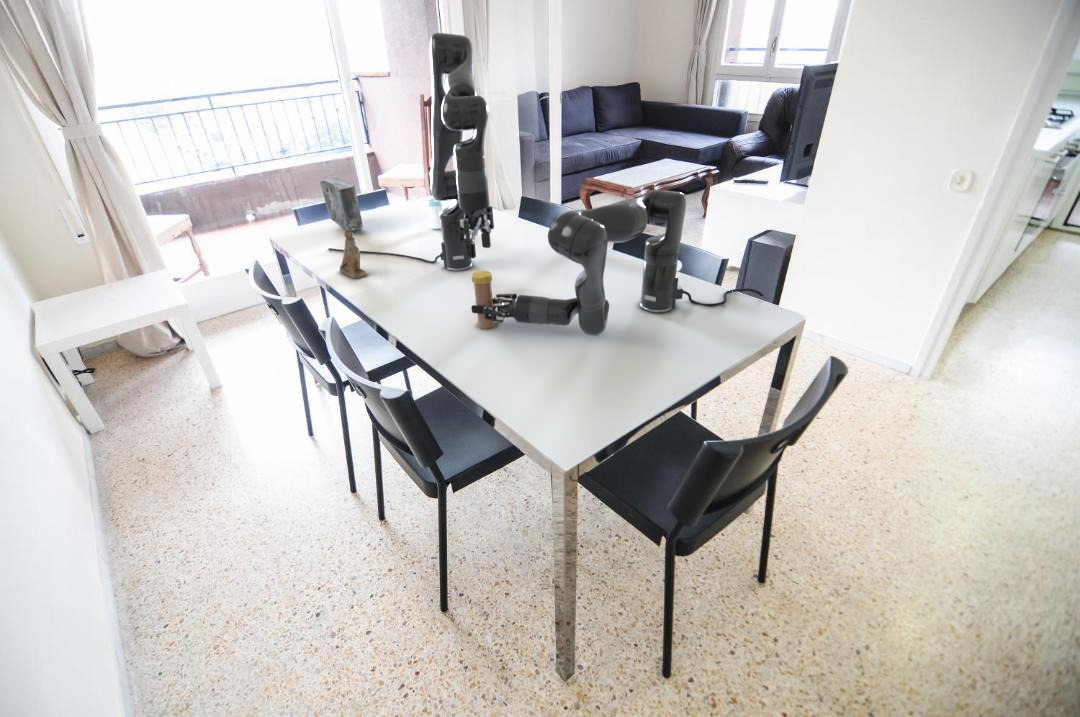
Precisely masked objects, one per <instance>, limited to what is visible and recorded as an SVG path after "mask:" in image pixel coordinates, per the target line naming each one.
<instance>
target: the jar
mask: <svg viewBox="0 0 1080 717" xmlns="http://www.w3.org/2000/svg"><path fill="white" fill-rule="evenodd" d="M473 290H474V297H475V298H474V299H475V305H481V306H492V305H493V297H494V296H493V287H492V281H491V282H490V283H487V284H475V283H473ZM489 310H493V309H489ZM476 315H477V326H478V327H479V328H480V329H483V330H488V329H492V328H494V327H495V325H496V321H492V320H487V319H485V318H484V314H477V313H476Z"/></svg>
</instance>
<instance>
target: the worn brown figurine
mask: <svg viewBox="0 0 1080 717" xmlns="http://www.w3.org/2000/svg"><path fill="white" fill-rule="evenodd" d="M343 236H344V238H346V239H345V240H344V249H343V250H344V252H342V254H343V255H342V261H341V264H340V266H339V273H341V274H343V275H344V276H347V277H350V278H352V279H356V280H357V279H360V278H362V277H366V276H367V273H366V271H365V270H363V269H362V268H361V253H360V251H361V250H360V249H359V247H358V246H357V244H356V243H357V242H356V239H355V237H354V234H353V230H352V231H350V230H348V231H347V230H345V232H344V234H343Z"/></svg>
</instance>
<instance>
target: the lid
mask: <svg viewBox="0 0 1080 717" xmlns="http://www.w3.org/2000/svg"><path fill="white" fill-rule="evenodd" d="M492 281H493V276H492V271H489V270H477V271H474V272H472V274H471V282H472V283H473V284H474V283H475V284H487V283H490V282H491V283H492Z"/></svg>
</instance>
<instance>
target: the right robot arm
mask: <svg viewBox="0 0 1080 717" xmlns="http://www.w3.org/2000/svg"><path fill="white" fill-rule="evenodd" d="M686 212H687V197H686V195H685V194H684V193H682V192H680V191H672V190H663V189H652V190H649V191H647V192H646V193H644V194H642V195H639V196H638V197H634V198H629V199H624V200H619V201H615V202H614V203H611V204H607V205H603V206H598V207H593V208H588V209H575V210H574V209H573V210H567V211H565V212H563V213H561V214H560V215H558V216H557V217H556V218H555V219H554V220H553V222H552V223H551V225H550V226H549V228H548V232H547V242H548V244H549V246H550V248H551V249H552V250H553V251H554V252H555V253H556V254H558V255H560V256H562V257H565V259H568V260H570V261H572V262H573V263H575V264H579V265H581V266H582V267H583V270H582V271H581V272H580V273H579V274H578V276H577V277H576V279H575V282H574V291H575V292H574V293H575V297H573V298H567V299H563V298H554V297H553V298H551V297H548V296H547V297H546V296H539V295H528V294H519V295H518V294H517V293H497V294H495V296H492V297H493V305H492V306H481V305H476V304H472V305H471V313H472V314H476V315H477V314H484V318H485V319H487V320H492V321H495V323H500V324H503V323H504V322H505V321H504V319H506V318H507V319H508V318H514V320H515V321H516V322H517V323H521V324H532V325H550V326H551V325H552V326H561V327H567V326H570V325H571V323H572V321H573V319H574V317H575V316H576V315H577V316H578V318H577V319H578V320H577V321H578V326H579V329H580V330H581V331H582V332H583V333H584V334H586V335H588V336H590V337H592V336H593V337H595V336H599V335H601V334H602V333H604V331H605V330H606V328H607V323H608V317H609V313H610V312H609V311H610V302H609V301H608V299H607V298H606V292H605V291H606V290H605V284H604V277H605V268H606V261H607V253H608V243H611V244H612V243H613V244H618V243H625V242H628V241H631V240H633V239H636V238H638V237H639V236H640V235H642V234H643V232H644V231H645V230H646V228H647V226H649V225H650V226H656V227H661V228H665V232H664V233H663V234H658V235H653V236H650V237H649V238H647V239H646V240H645V245H644V255H643V256H644V258H643V269H642V281H641V294H640V303H639V305H640V308H641V309H643V310H644V311H646V312H649V313H654V314H655V313H656V314H657V313H658V314H659V313H660V314H661V313H666V312H670V311H671V310H675V309H676V304H677V303H676V302H677V300H682V299H683V296H684V295H686V296H687V297H688V298H687V299H688V301H689V302H690V303H692V304H695V305H698V306H699V305H700V306H704V307H717V306H723V305H724V304H726V303H727V299H728V298H727V295H728V294H731V293H736V292H751V293H755V294H757V295H758V296H760V297H765V296H764V294H763V293H762V292H761V291H759V290H757V289H754V288H749V287H741V288H734V289H729V290H730V291H729V290H726V291H725V292H724V293H723V300H722V301H720V302H713V303H705V302H704V303H703V302H699V301H696V300H693V299H692V294H691V293H690V292H689V291H686V290H684V288H683V287H682V286H681V285H679V278H678V276H677V268H678V260H679V252H680V245H681V241H682V236H683V229H684V223H685V218H686ZM732 291H733V292H732ZM683 294H684V295H683ZM489 309H493V310H489Z"/></svg>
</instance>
